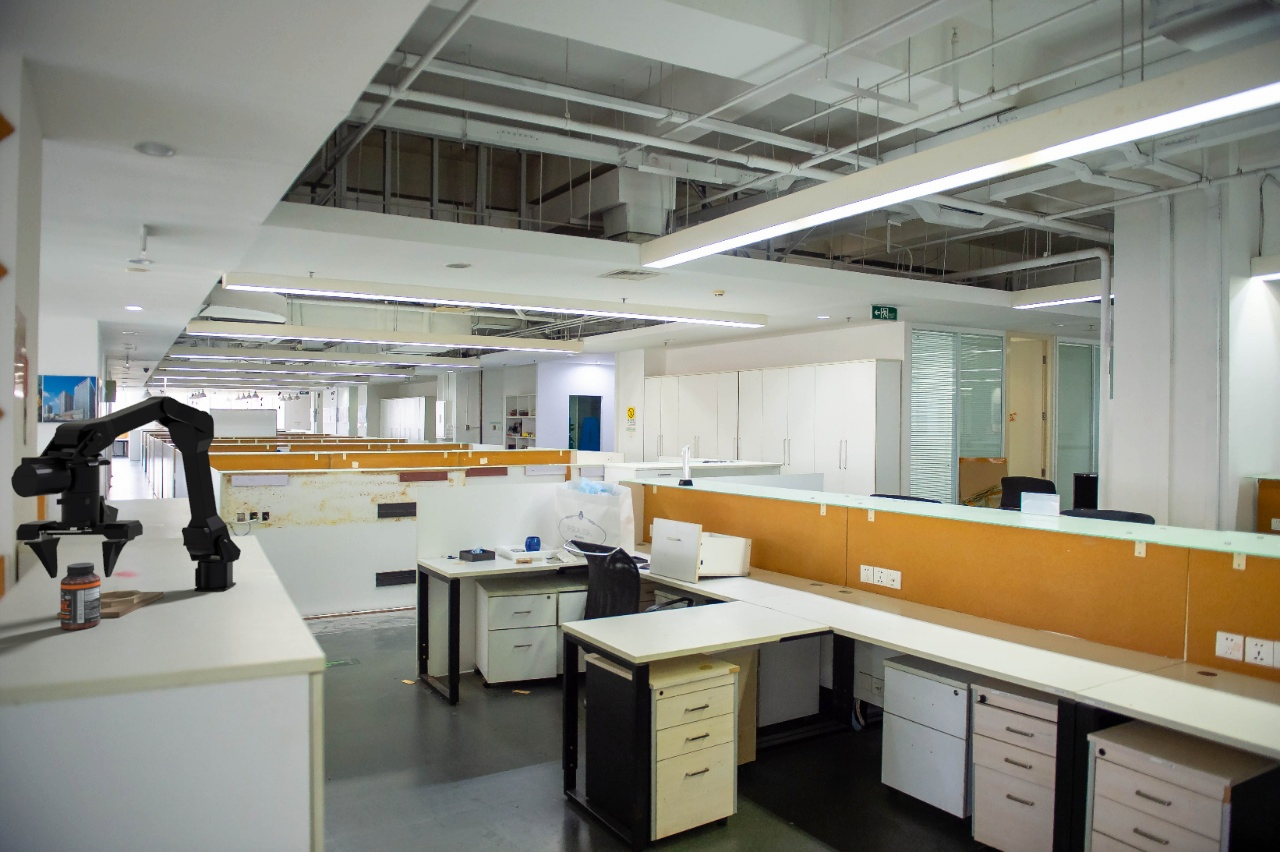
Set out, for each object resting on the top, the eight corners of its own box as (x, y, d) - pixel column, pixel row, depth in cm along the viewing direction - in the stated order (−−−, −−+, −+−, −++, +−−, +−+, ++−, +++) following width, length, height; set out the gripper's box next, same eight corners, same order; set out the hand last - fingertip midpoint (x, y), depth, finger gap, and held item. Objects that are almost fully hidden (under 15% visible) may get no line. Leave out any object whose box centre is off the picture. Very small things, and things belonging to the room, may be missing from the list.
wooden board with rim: (163, 596, 166) (163, 585, 166) (119, 617, 149) (119, 605, 149) (108, 597, 165) (108, 586, 165) (57, 618, 148) (57, 606, 148)
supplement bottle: (53, 627, 141) (53, 565, 141) (89, 620, 147) (89, 560, 146) (71, 632, 139) (71, 568, 138) (107, 624, 144) (107, 563, 144)
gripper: (157, 487, 151) (157, 567, 152) (53, 487, 149) (54, 569, 150) (126, 493, 140) (126, 580, 140) (13, 493, 138) (14, 582, 138)
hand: (81, 577), depth 143 cm, fingers open, 9 cm apart
